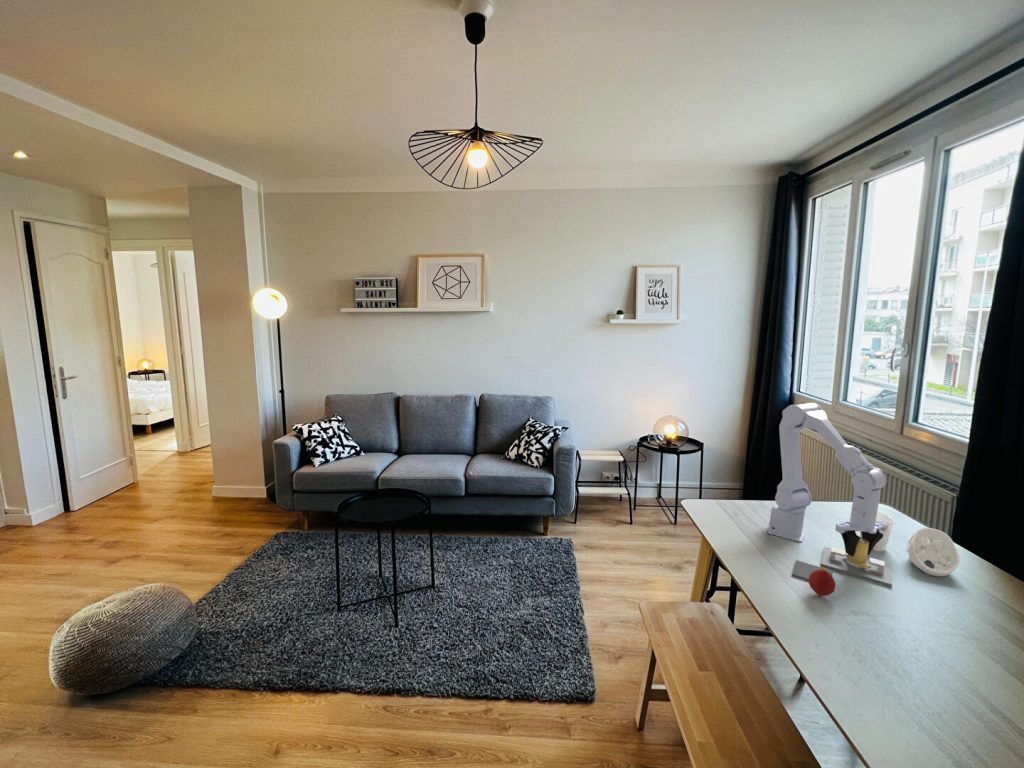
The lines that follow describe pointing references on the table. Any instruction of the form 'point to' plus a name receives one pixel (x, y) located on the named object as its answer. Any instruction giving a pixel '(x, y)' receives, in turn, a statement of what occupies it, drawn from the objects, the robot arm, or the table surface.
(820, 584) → the onion
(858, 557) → the yellow rounded piece
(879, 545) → the white cup
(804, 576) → the mat
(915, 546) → the skull bowl
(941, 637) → the table surface
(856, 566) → the post base
